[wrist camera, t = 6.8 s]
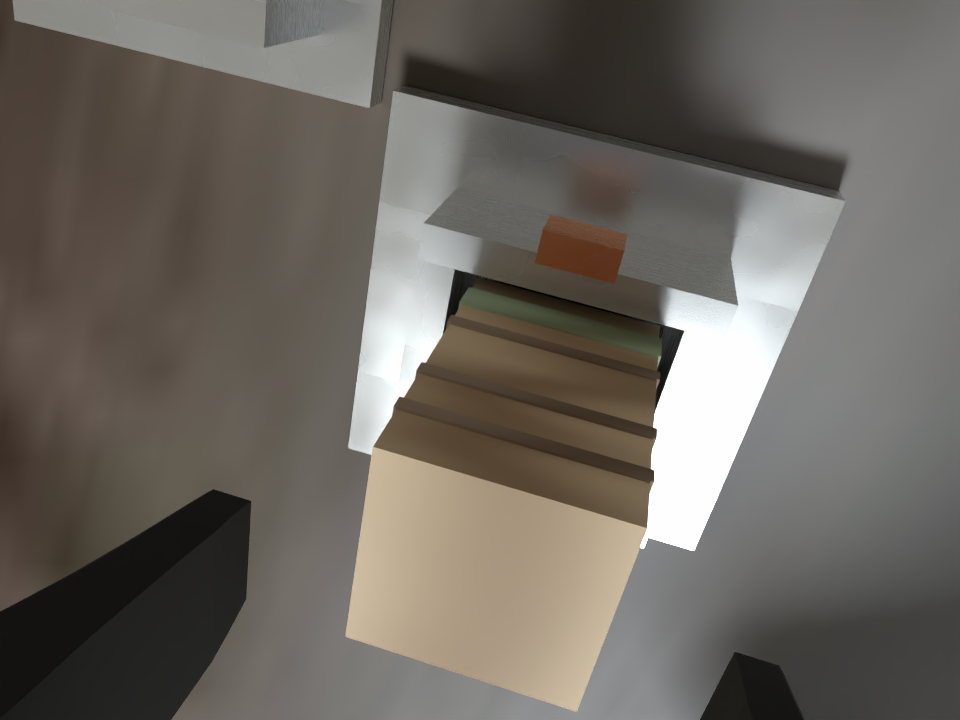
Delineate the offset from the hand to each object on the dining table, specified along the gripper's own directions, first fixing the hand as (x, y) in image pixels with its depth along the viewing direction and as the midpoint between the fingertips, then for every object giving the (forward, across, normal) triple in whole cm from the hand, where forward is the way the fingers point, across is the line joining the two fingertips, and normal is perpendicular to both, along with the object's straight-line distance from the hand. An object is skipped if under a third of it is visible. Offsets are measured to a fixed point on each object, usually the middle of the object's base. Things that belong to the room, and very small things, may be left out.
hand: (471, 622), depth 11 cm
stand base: (+10, 0, 0) cm, 10 cm away
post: (+8, 0, 0) cm, 8 cm away
